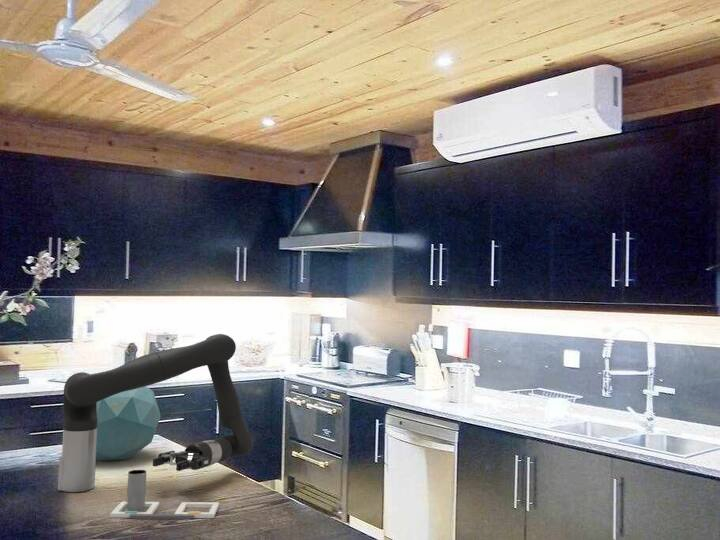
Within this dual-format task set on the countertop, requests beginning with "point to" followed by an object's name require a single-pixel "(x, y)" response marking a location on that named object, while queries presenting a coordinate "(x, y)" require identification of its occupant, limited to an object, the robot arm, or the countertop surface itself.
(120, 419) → the sculpture
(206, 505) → the socket
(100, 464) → the countertop surface
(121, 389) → the robot arm
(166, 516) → the thin gray bar
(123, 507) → the socket
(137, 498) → the planter
